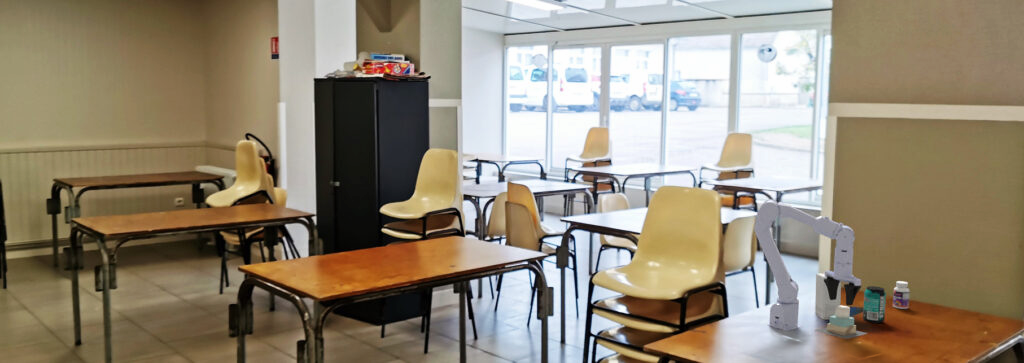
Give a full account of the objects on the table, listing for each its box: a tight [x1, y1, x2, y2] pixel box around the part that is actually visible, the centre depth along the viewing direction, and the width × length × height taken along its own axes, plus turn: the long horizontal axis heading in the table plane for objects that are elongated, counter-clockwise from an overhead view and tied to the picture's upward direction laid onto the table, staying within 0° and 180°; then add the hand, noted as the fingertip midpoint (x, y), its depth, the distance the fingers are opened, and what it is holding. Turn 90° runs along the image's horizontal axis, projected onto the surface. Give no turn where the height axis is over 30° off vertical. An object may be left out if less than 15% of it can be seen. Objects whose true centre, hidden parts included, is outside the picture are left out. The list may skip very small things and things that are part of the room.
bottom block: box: [826, 322, 857, 336], centre depth 277 cm, size 6×6×2 cm
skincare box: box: [814, 273, 842, 320], centre depth 297 cm, size 8×7×16 cm
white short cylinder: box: [835, 304, 851, 319], centre depth 277 cm, size 4×4×4 cm
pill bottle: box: [892, 280, 910, 310], centre depth 314 cm, size 5×5×10 cm
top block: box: [829, 316, 855, 328], centre depth 277 cm, size 6×6×2 cm
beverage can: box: [862, 285, 887, 324], centre depth 293 cm, size 7×7×12 cm
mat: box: [814, 326, 868, 340], centre depth 277 cm, size 12×12×1 cm
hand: (841, 302), depth 277 cm, fingers open, 7 cm apart
